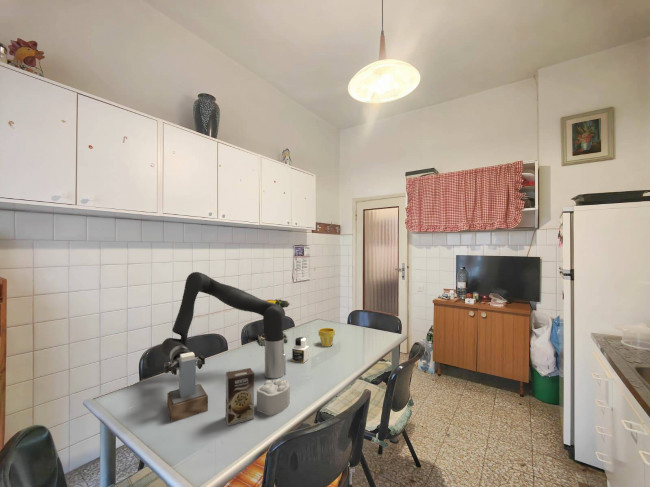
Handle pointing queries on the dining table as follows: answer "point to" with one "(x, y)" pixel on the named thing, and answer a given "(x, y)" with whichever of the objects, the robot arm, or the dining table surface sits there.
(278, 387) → the lumpy-topped squat cylinder
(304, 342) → the medicine bottle
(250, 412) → the coffee box
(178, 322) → the robot arm
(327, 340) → the plant pot
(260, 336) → the cordless drill
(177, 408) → the stand
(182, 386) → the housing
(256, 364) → the dining table surface
